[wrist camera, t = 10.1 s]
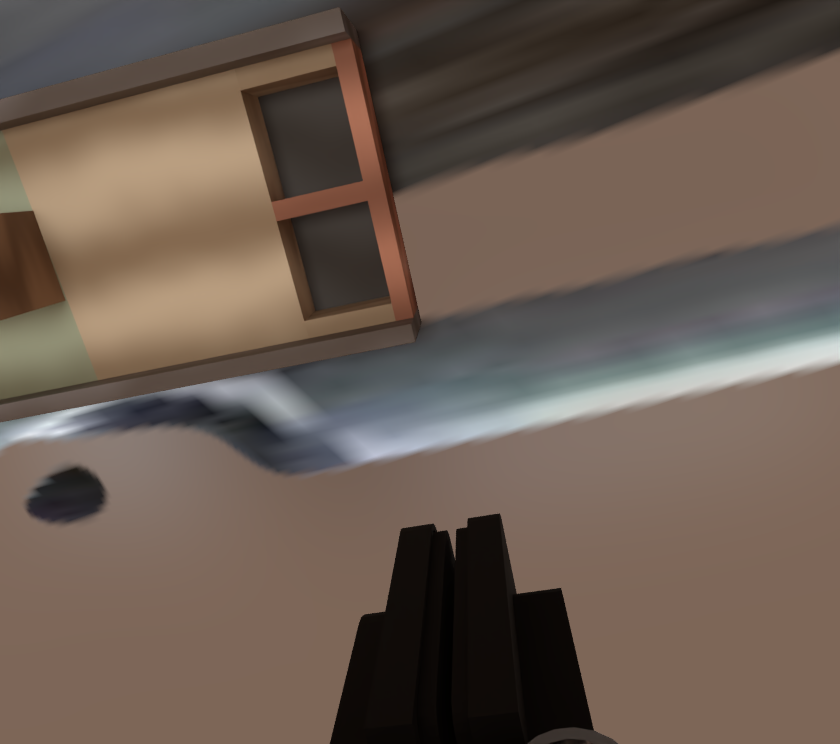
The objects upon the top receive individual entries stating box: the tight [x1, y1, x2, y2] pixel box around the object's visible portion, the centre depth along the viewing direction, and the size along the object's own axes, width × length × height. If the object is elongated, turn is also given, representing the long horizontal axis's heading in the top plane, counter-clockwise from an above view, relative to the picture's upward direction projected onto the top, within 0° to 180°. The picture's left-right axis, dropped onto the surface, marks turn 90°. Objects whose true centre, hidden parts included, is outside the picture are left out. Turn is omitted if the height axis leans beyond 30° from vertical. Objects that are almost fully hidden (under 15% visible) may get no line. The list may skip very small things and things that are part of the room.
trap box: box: [0, 7, 421, 422], centre depth 34 cm, size 16×28×4 cm, turn 102°
